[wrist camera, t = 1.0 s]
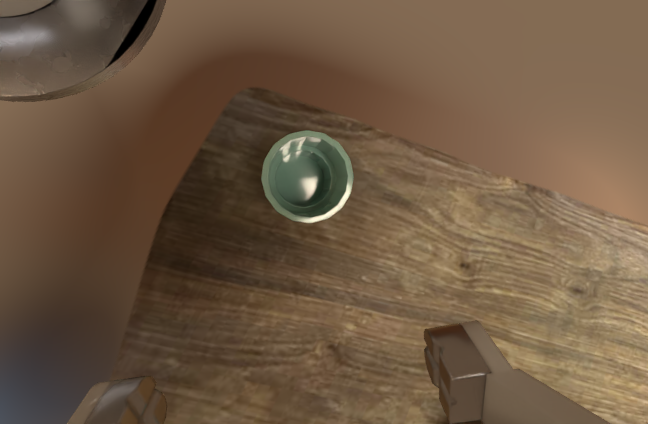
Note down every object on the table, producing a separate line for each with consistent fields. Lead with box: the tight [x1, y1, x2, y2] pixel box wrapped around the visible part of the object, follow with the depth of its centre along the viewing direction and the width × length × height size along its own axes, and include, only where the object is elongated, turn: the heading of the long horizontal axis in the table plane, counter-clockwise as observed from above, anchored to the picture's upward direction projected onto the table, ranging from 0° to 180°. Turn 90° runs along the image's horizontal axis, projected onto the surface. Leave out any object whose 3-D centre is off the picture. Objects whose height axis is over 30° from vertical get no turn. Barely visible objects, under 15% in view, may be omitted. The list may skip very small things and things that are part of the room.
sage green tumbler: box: [261, 130, 354, 223], centre depth 24 cm, size 6×6×9 cm
